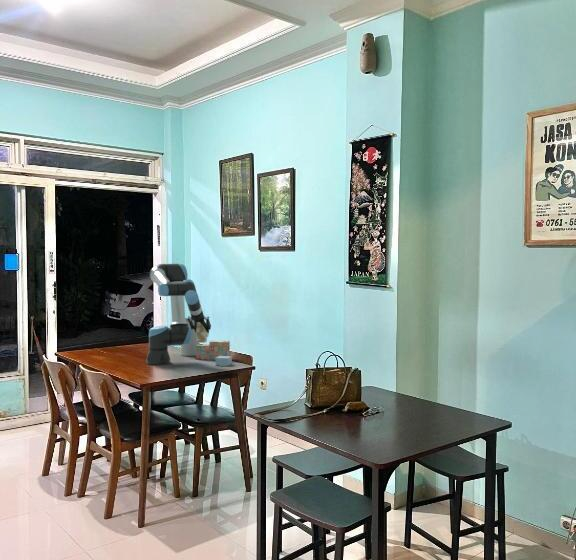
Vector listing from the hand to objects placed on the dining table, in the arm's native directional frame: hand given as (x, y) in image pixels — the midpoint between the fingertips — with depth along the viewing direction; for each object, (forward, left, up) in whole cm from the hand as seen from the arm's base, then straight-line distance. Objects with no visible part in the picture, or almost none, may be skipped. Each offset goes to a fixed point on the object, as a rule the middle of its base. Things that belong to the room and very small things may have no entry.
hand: (203, 335), depth 365 cm
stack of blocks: (+1, +19, -19) cm, 26 cm away
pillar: (0, -4, -4) cm, 5 cm away
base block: (+13, 0, -19) cm, 23 cm away
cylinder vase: (-18, +33, -19) cm, 42 cm away
